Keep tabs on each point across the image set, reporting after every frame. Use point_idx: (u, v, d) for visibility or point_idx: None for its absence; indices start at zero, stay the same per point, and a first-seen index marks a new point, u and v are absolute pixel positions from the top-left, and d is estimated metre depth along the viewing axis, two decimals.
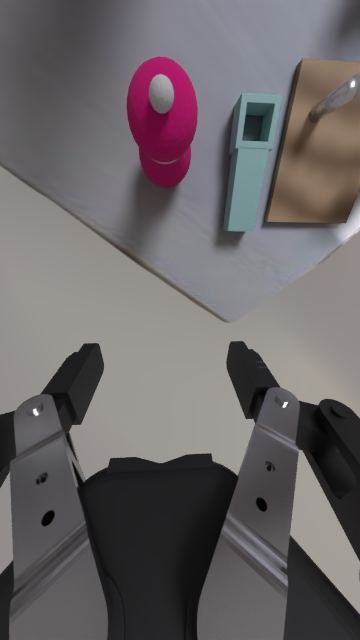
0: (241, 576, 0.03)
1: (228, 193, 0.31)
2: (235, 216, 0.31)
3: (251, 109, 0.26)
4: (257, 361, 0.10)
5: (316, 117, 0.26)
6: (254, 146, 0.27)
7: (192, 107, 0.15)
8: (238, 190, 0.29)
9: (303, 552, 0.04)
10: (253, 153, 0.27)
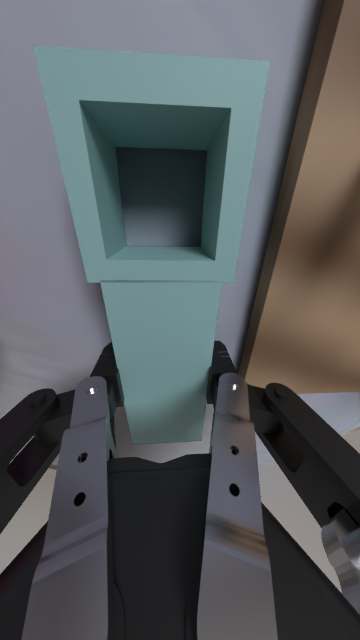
0: (241, 576, 0.03)
1: None
2: (144, 423, 0.11)
3: (142, 132, 0.06)
4: (222, 351, 0.11)
5: None
6: (162, 276, 0.07)
7: None
8: (137, 380, 0.09)
9: (303, 552, 0.04)
10: (163, 296, 0.07)
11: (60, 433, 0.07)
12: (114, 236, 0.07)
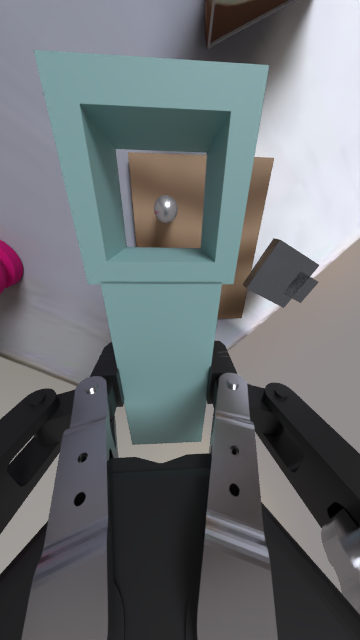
0: (241, 576, 0.03)
1: None
2: (144, 423, 0.11)
3: (142, 134, 0.06)
4: (222, 351, 0.11)
5: None
6: (162, 277, 0.07)
7: None
8: (137, 380, 0.09)
9: (303, 552, 0.04)
10: (164, 297, 0.07)
11: (60, 433, 0.07)
12: (114, 238, 0.07)
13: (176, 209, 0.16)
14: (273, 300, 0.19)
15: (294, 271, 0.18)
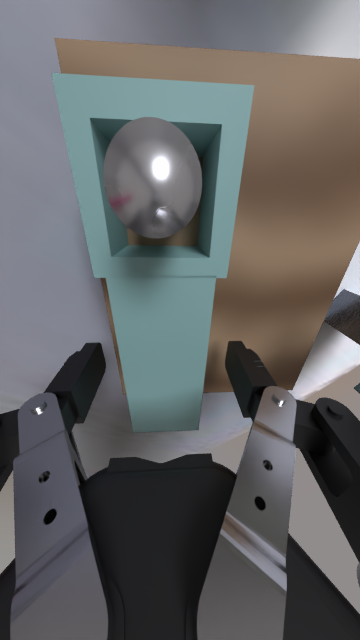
0: (241, 576, 0.03)
1: None
2: (145, 412, 0.12)
3: None
4: (255, 360, 0.10)
5: None
6: (162, 271, 0.07)
7: None
8: (138, 369, 0.10)
9: (303, 552, 0.04)
10: (163, 290, 0.08)
11: (0, 458, 0.07)
12: (118, 236, 0.08)
13: (197, 186, 0.04)
14: None
15: None
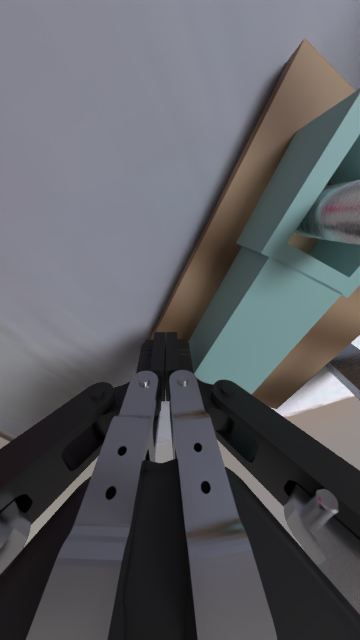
0: (241, 576, 0.03)
1: (204, 323, 0.13)
2: None
3: (343, 165, 0.08)
4: (184, 349, 0.11)
5: None
6: (311, 272, 0.09)
7: None
8: (226, 347, 0.10)
9: (303, 552, 0.04)
10: (300, 287, 0.09)
11: None
12: None
13: None
14: None
15: None
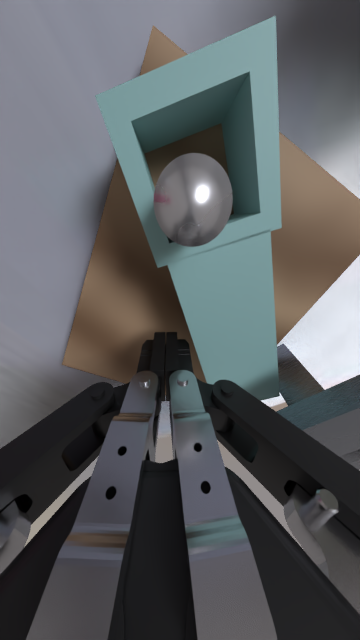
0: (241, 576, 0.03)
1: None
2: None
3: (170, 129, 0.07)
4: (184, 349, 0.11)
5: None
6: (216, 242, 0.08)
7: None
8: (210, 346, 0.10)
9: (303, 552, 0.04)
10: (221, 260, 0.08)
11: None
12: None
13: (222, 222, 0.05)
14: None
15: None
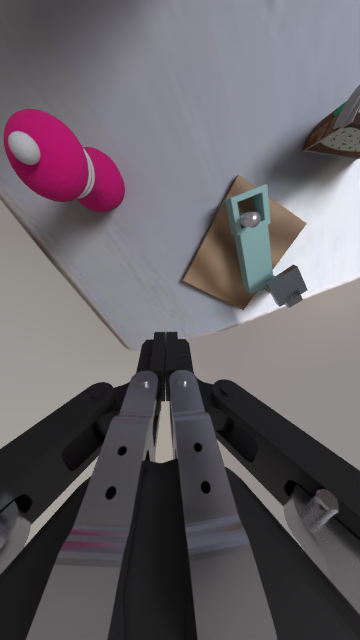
0: (241, 576, 0.03)
1: (240, 262, 0.35)
2: (253, 281, 0.34)
3: None
4: (184, 349, 0.11)
5: None
6: None
7: (70, 172, 0.15)
8: (249, 262, 0.32)
9: (303, 552, 0.04)
10: (254, 232, 0.30)
11: None
12: None
13: (258, 223, 0.27)
14: (277, 299, 0.32)
15: (295, 287, 0.31)
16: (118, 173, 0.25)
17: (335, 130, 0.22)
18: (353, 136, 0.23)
